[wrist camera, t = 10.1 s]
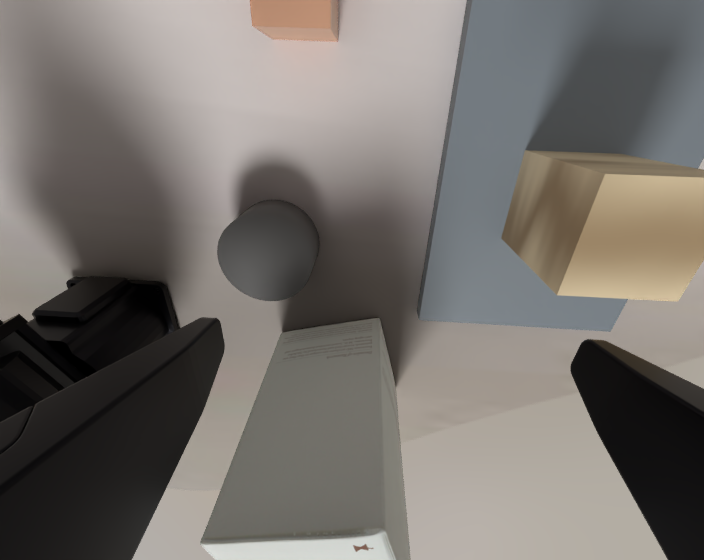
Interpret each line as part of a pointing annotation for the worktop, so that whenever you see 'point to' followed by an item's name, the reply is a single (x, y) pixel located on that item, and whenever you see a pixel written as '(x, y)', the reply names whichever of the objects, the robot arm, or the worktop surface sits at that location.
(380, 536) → the supplement box
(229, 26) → the worktop surface
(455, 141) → the slate board
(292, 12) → the terracotta tile
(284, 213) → the smooth grey pebble
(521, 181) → the beech block
